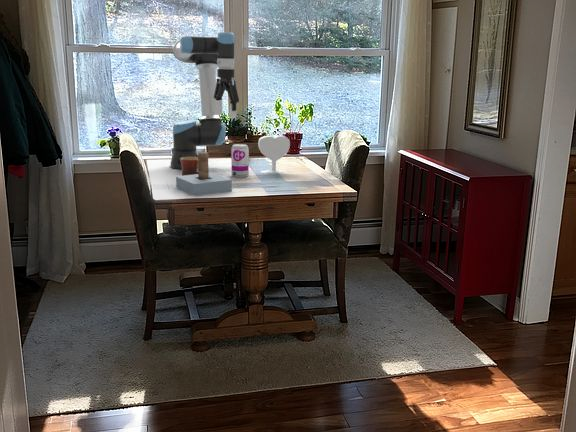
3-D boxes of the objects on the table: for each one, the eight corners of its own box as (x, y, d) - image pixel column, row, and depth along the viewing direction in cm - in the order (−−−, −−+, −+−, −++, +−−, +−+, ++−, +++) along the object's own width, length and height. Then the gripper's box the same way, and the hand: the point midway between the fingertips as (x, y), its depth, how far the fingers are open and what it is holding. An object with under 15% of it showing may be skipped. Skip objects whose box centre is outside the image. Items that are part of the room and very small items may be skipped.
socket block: (176, 187, 272) (175, 176, 270) (212, 183, 281) (212, 172, 280) (194, 195, 257) (193, 184, 256) (231, 190, 267) (231, 179, 266)
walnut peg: (196, 188, 270) (196, 152, 266) (205, 187, 272) (205, 151, 268) (201, 190, 266) (200, 154, 262) (210, 189, 269) (209, 153, 264)
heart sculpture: (287, 170, 314) (288, 135, 309) (289, 172, 309) (290, 136, 304) (257, 171, 310) (257, 135, 305) (259, 173, 306) (259, 136, 301)
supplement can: (246, 178, 293) (246, 146, 289) (229, 177, 295) (229, 146, 291) (250, 174, 301) (250, 144, 297) (234, 173, 303) (234, 143, 299)
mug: (177, 181, 284) (176, 159, 282) (186, 177, 292) (185, 156, 290) (200, 183, 281) (200, 161, 278) (208, 179, 289) (208, 158, 286)
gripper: (206, 67, 282) (206, 113, 288) (231, 70, 262) (231, 120, 268) (220, 66, 286) (221, 112, 292) (246, 69, 266) (246, 119, 272)
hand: (226, 116), depth 280 cm, fingers open, 13 cm apart
